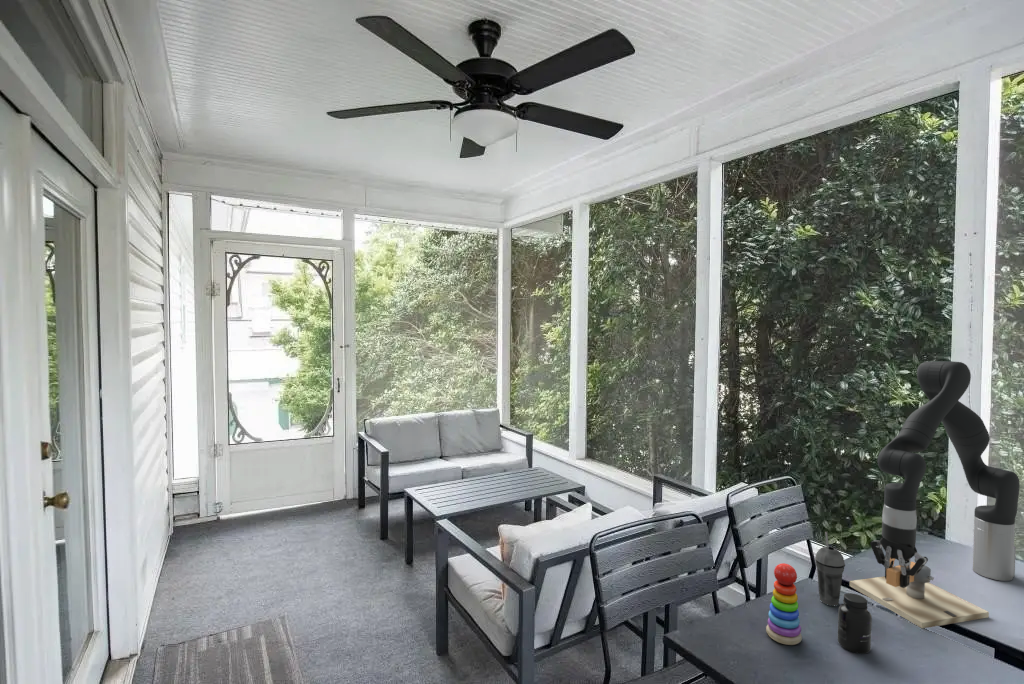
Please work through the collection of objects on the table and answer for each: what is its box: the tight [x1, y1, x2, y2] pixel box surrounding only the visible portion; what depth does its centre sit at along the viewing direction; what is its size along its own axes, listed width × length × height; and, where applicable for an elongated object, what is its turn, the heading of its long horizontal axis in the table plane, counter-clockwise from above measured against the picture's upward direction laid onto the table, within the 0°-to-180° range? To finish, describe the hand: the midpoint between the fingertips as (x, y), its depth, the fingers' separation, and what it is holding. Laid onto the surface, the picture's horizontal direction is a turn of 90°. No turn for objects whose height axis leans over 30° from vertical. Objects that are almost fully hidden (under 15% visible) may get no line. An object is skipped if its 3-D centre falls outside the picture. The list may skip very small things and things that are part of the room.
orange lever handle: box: [886, 561, 935, 587], centre depth 146 cm, size 14×8×4 cm, turn 113°
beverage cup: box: [814, 531, 846, 607], centre depth 147 cm, size 7×7×20 cm
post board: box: [849, 575, 990, 629], centre depth 147 cm, size 22×22×6 cm
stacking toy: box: [765, 563, 803, 646], centre depth 131 cm, size 8×8×19 cm
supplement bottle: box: [837, 592, 873, 655], centre depth 127 cm, size 7×7×12 cm
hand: (896, 583), depth 144 cm, fingers closed on orange lever handle, 2 cm apart
